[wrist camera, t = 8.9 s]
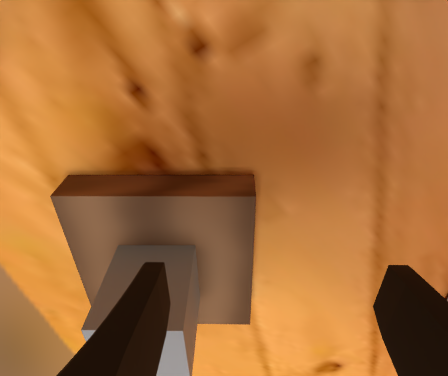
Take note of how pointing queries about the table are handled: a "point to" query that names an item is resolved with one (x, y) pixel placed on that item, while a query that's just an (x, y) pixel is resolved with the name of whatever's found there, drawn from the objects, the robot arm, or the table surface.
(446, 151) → the table surface
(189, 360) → the slate block
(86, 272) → the walnut slab
